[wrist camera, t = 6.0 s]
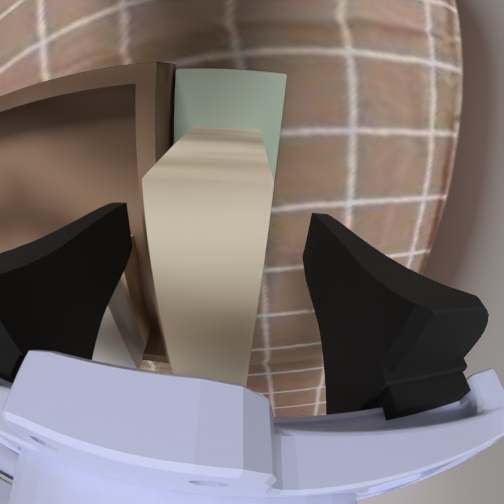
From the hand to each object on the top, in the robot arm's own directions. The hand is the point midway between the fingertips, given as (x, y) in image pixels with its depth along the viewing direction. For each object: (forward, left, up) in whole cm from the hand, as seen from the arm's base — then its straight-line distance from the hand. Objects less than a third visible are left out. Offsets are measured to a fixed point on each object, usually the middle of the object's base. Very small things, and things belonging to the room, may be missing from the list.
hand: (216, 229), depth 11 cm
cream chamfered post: (-2, 0, -3) cm, 4 cm away
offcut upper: (-7, +7, -1) cm, 10 cm away
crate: (-2, +11, -4) cm, 12 cm away
